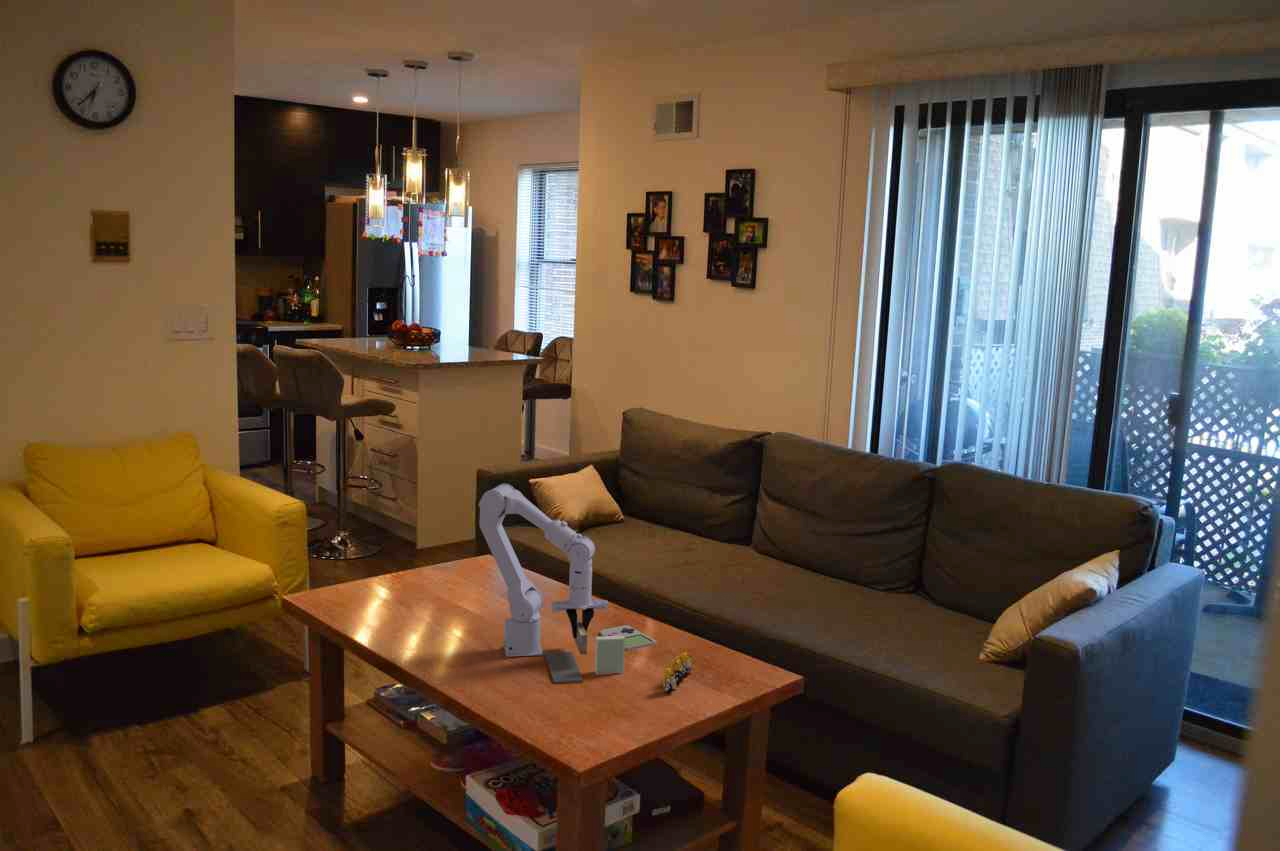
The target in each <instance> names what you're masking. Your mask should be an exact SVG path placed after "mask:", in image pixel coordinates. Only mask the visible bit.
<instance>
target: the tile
mask: <svg viewBox="0 0 1280 851" xmlns="http://www.w3.org/2000/svg"><path fill="white" fill-rule="evenodd" d="M594 646H595V648H594V652H595V653H594V673H595V675H612V674H613V673H617V674H624V673H625V651H626V650H625V638H624V636H595V645H594Z"/></svg>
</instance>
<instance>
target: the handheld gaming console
mask: <svg viewBox="0 0 1280 851" xmlns="http://www.w3.org/2000/svg"><path fill="white" fill-rule="evenodd" d="M599 633H600V634H599V635H600V637H602V636H624V638H625V651H631V650H636V649H642V648H645V647H650V646H655V645H657V643H658V641H657V640H656V639H655V638H652V637H651V636H649V635H647V634H645V633H643V632H642V631H639V630H637V629H636V628H634V627H632V626H631V625H628V624H627V625H625V624H624V625H620V626H616V627H610V628H605V629H602V630H601V629H600V632H599Z"/></svg>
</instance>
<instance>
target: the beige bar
mask: <svg viewBox="0 0 1280 851" xmlns="http://www.w3.org/2000/svg"><path fill="white" fill-rule="evenodd" d="M570 632H571V635H572V637H573V632H572V626H571V631H570ZM573 640H574V642H575V645H576V647H577V650H578V652H579V655H582V656H583V655H587V654H588V634H587V632H586V631H585V629H584V627H583V624H582V619H581V618H580V615H579V613H577V638H574V637H573Z"/></svg>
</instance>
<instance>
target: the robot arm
mask: <svg viewBox="0 0 1280 851" xmlns="http://www.w3.org/2000/svg"><path fill="white" fill-rule="evenodd" d="M478 507H479V528H480V530H481V532H482V534H483V537H484V540H485V541H486V543H487V545H488V548H489V550H490V552H491V555H492V556H493V559H494V560H495V563H496V565H497V567H498V569H499V572H500V574H501V575H502V576H501V577H502V578H503V581H504V582H505V585H506V588H507V596H506V598H507V601H508V604H509V614H510V616H511V617H510V618H504V621H503V622H504V623H503V640H502V644H503V645H502V646H503V650H504V653H505V656H506V657H508V658H509V657H530V656H543V655H544V653H543V649H542V646H541V613H540V609H541V608H542V607H543V605H544V596H543V594H542V593H541V591H539V590H538V589H537V588H536V587H535V585H534V583H533V582H532V581H531V580H530V579H528V578H527V576H526V574H525V572H524V570H523V568H522V566H521V564H520V561H519V559H518V557H517V555H516V553H515V551H514V549H513V546H512V544H511V541H510V538H509V537H508V535H507V533H506V530H505V528H504V526H503V521H504V519H505V518H506V515H513V514H514V515H519V516H521V517H522V518H525V520H526V521H529V522H530V523H531V524H533V525H534V526H535V527H538V528H539V529H540V530H541V531H543V532H544V537H545V539H546V540H547V541H549V542H550V543H552V544H553V545H554V546H556V547H557V548H558V549H559V550H561V551H563V553H565V554H566V557H567V559H568V561H569V562H570V563H569V564H570V565H569V578H568V579H569V581H568V582H569V583H568V587H569V588H568V599H566V600H559V601H551V602H550V610H551V612H555V613H556V612H557V611H565V613H566V614H567V616H568V619H569V622H570V625H571V627H572V632H573V635H572V637H574V638H577V614H578V613H577V611H581V622H582V624H583V627H584V629H585V631H586V633H587V631H588V628H589V625H590V623H591V621H592V619H593V618H594V616H595V611H594V610H604V611H608V610H609V603H610V602H608V600H607V599H604V600H603V599H601V600H600V599H592V586H593V585H592V584H593V582H592V581H593V558H592V557H593V556H594V554H595V552H596V545H595V543H594V541H592V539H591V538H590V537H588V536H583V534H581V533H577V532H576V531H575V530H573V529H572V528H570V527H569V526H568V522H566V521H564V520H563V521H561V520H560V519H558V520H552V519H551V518H550V517H548V516H547V515H546V514H545V513H544V512H543V511H541V510H540V509H539V507H537V506H536V505H535V504H533V503H532V502H531V501H530V500H528V498H526V497H525V496H524V495H523V493H522V492H521V491H520V490H518V489H516V488H514V487H513V485H511V484H509V483H500V484H499V485H497V486H495V487H494V488H492V489H489V490H487V491H485V492H484V493H483V495H482V496H481V499H480V500H479V502H478ZM574 638H573V639H574Z"/></svg>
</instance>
